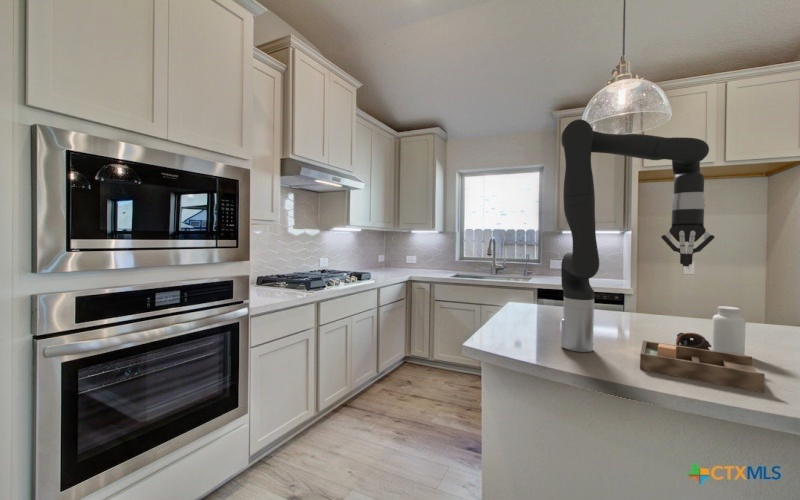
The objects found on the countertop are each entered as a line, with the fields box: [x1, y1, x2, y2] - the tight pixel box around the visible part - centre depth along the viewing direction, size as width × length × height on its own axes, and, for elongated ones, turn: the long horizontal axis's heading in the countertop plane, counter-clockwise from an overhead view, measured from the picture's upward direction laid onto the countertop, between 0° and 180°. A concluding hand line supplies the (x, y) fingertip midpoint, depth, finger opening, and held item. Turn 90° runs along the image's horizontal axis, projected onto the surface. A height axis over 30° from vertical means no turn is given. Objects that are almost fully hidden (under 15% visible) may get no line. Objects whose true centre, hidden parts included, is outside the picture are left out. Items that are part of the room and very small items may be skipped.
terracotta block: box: [657, 342, 677, 359], centre depth 101 cm, size 4×4×4 cm
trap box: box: [639, 339, 766, 393], centre depth 100 cm, size 25×16×4 cm, turn 53°
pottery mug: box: [675, 332, 712, 350], centre depth 113 cm, size 12×10×8 cm
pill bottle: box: [710, 305, 747, 355], centre depth 115 cm, size 8×8×15 cm
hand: (685, 266), depth 107 cm, fingers closed
